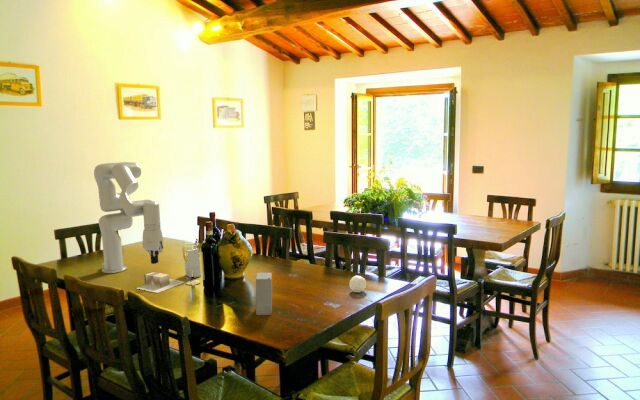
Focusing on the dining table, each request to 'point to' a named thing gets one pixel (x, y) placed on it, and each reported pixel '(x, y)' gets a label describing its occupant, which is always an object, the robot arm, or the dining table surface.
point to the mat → (160, 289)
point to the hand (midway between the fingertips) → (154, 263)
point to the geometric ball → (357, 284)
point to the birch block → (157, 279)
